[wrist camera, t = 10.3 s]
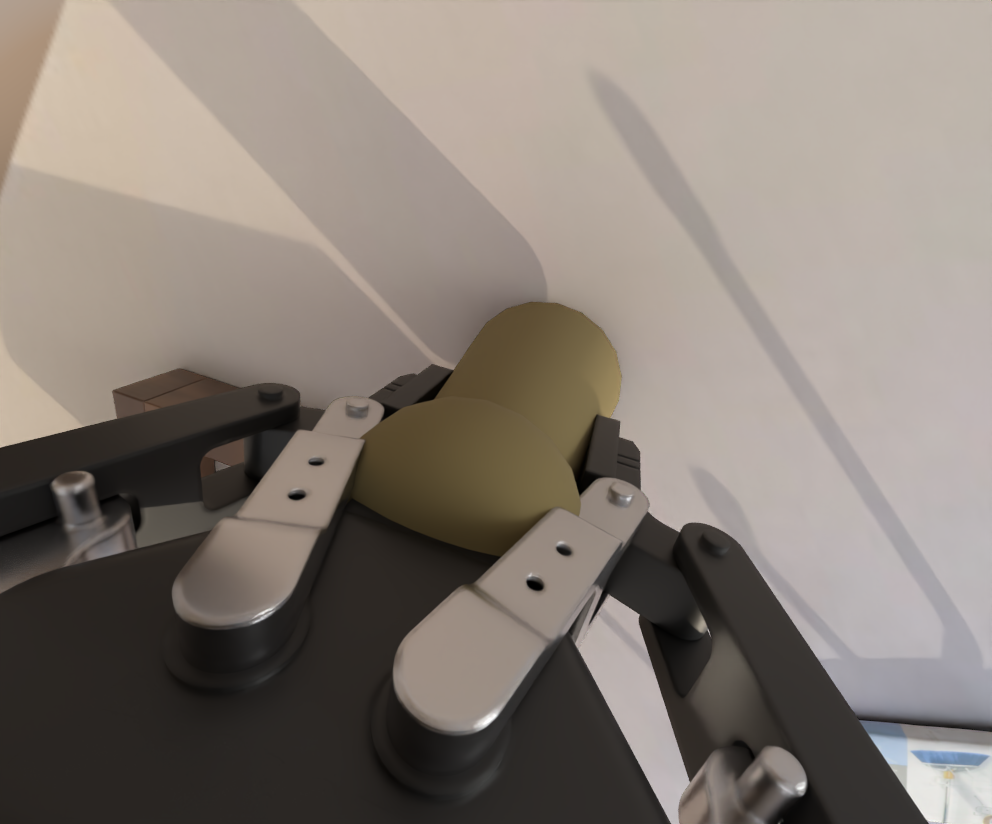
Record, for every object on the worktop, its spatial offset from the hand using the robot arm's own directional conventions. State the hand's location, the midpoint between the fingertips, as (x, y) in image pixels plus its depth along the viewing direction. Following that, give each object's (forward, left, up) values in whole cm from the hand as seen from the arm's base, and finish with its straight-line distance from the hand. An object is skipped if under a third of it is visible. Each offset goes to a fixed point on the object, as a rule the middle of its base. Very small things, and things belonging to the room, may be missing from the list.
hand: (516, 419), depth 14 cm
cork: (0, 0, -4) cm, 4 cm away
